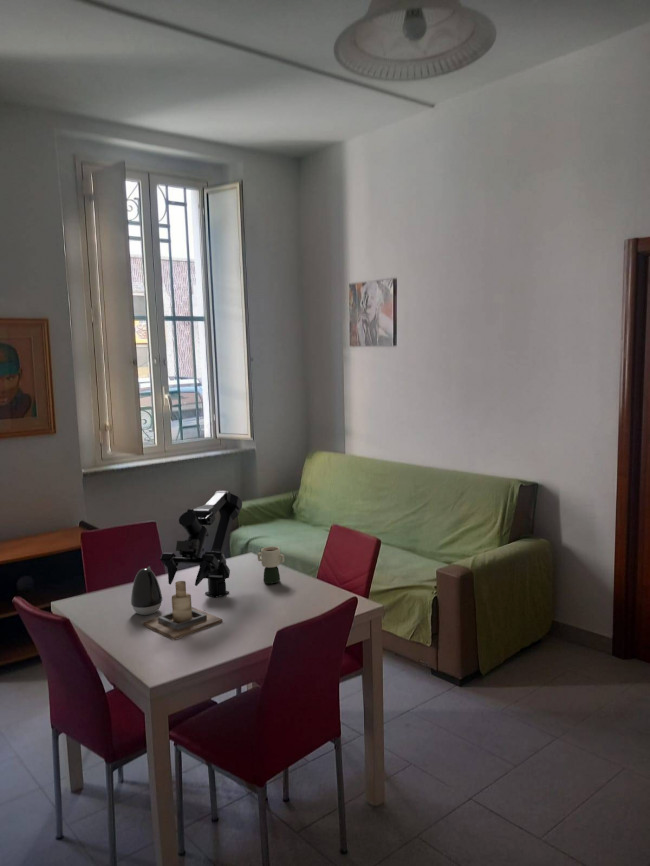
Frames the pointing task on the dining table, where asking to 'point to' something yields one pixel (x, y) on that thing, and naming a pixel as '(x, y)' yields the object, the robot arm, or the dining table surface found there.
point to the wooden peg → (181, 603)
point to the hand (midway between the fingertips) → (182, 584)
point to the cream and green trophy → (271, 563)
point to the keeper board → (182, 624)
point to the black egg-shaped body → (146, 593)
